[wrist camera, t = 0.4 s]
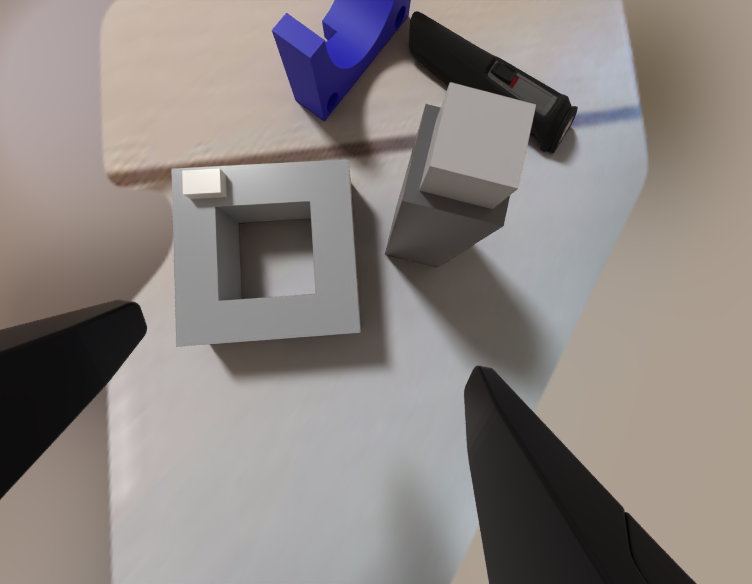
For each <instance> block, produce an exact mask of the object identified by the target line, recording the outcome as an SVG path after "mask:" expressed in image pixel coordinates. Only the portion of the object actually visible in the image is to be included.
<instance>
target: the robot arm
mask: <svg viewBox="0 0 752 584" xmlns="http://www.w3.org/2000/svg"><path fill="white" fill-rule="evenodd" d="M146 332H147V325H146V322H145V319H144V316H143V313H142V310H141V307H140V306H139V304H138V303H136V302H132V301H127V300H115V301H111V302H107V303H103V304H99V305H95V306H91V307H87V308H84V309H80V310H76V311H72V312H68V313H65V314H60V315H56V316H52V317H49V318H45V319H41V320H37V321H33V322H29V323H25V324H21V325H17V326H14V327H10V328H6V329H2V330H0V500H1V498H2V497H3V496H4V495H5V494H6V493H7V492H8V491H9V490H10V489H11V487H13V485H14V484H15V483H16V482H17V481H18V480H19V479H20V478H21V477H22V476H23V475H24V474H25V472H26V471H27V470H28V469H29V468H30V467H31V466H32V465H33V464H34V463H35V462H36V461H37V460H38V458H39V457H40V456H41V455H42V454H43V453H44V452H45V451H46V450H47V449H48V448H49V446H51V444H52V443H53V442H54V441H55V440H56V439H57V438H58V437H59V436H60V435H61V433H63V432H64V430H65V429H66V428H67V427H68V426H69V425H70V424H71V423H72V422H73V421H74V420H75V419H76V418H77V416H78V415H79V414H80V413H81V412H82V411H83V410H84V409H85V408H86V407H87V406H88V405H89V403H90V402H91V401H92V400H93V399H94V398H95V397H96V396H97V395H98V394H99V393H100V392H101V390H102V389H103V388H104V387H105V386H106V385H107V383H108V382H109V381H110V380H111V379H112V377H113V376H114V375H115V373H116V372H117V371H118V370H119V368H120V367H121V366H122V364H123V363H124V362H125V361H126V359H127V358H128V357H129V355H130V354H131V353H132V351H133V350H134V349H135V348H136V346H137V345H138V344H139V342H140V341H141V340H142V339H143V337H144V336H145V334H146ZM464 403H465V420H466V437H467V451H468V459H469V465H470V471H471V477H472V483H473V489H474V495H475V501H476V507H477V513H478V519H479V525H480V531H481V537H482V543H483V549H484V555H485V561H486V567H487V573H488V579H489V584H696V583H695V582H694V581H693V580H692V579H691V578H690V577H689V576H688V575H687V574H686V573H685V572H684V570H682V568H681V567H680V566H679V565H678V564H677V563H676V562H675V561H674V560H673V559H672V558H671V557H670V556H669V555H668V554H667V553H666V552H665V551H664V550H663V549H662V548H661V547H660V546H659V545H658V544H657V543H656V542H655V540H654V539H653V538H652V537H651V536H650V535H649V534H648V533H647V532H646V531H645V530H644V529H643V528H642V527H641V526H640V525H639V524H638V523H637V521H636V520H635V519H634V518H633V517H632V516H631V515H630V514H629V513H627V512H625V511H624V509H623V507H622V506H621V505H620V504H619V502H618V501H617V500H616V499H615V498H614V497H613V496H612V495H611V494H610V493H609V492H608V491H607V490H606V489H605V488H604V487H603V485H602V484H600V482H599V481H598V480H597V479H596V478H595V477H594V476H593V475H592V474H591V473H590V472H589V471H588V470H587V469H586V467H585V466H584V465H583V464H582V463H581V462H580V461H579V460H578V459H577V458H576V457H575V456H574V455H573V454H572V453H571V452H570V450H569V449H568V448H567V447H566V446H565V445H564V444H563V443H562V442H561V441H560V440H559V439H558V438H557V437H556V436H555V435H554V433H552V431H551V430H550V429H549V428H548V427H547V426H546V425H545V424H544V423H543V422H542V421H541V420H540V418H539V417H538V416H537V415H536V414H535V413H534V412H533V411H532V410H531V409H530V408H529V407H528V406H527V405H526V404H525V403H524V401H523V400H522V399H521V398H520V397H519V396H518V395H517V394H516V393H515V392H514V391H513V390H512V389H511V388H510V387H509V386H508V384H507V383H506V382H505V381H504V380H503V379H502V378H501V377H500V376H499V375H498V374H497V373H496V372H495V371H494V370H493V369H492V368H489V367H483V366H476V367H475V368H474V369H473V371H472V373H471V375H470V377H469V379H468V382H467V384H466V386H465V390H464Z"/></svg>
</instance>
